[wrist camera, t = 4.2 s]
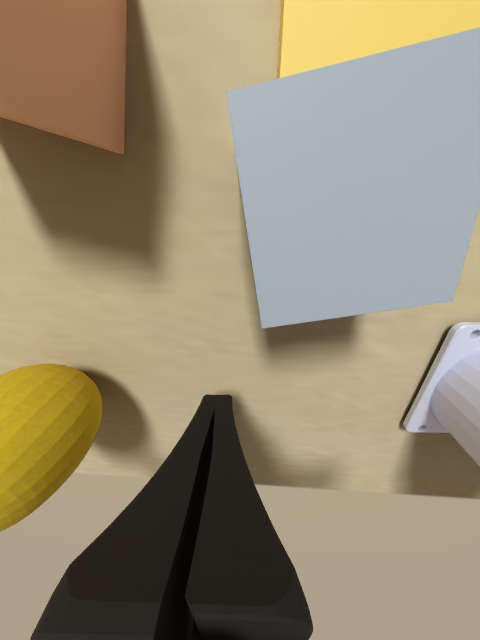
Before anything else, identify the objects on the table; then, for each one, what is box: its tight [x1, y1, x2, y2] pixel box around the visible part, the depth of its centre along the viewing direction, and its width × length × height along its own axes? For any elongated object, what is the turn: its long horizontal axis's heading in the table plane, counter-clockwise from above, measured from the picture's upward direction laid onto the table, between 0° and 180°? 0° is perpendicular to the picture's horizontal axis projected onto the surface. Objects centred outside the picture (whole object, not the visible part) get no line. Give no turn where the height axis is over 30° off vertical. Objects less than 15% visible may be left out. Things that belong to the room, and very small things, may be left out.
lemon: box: [0, 364, 103, 531], centre depth 10 cm, size 6×6×8 cm
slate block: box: [226, 27, 480, 328], centre depth 7 cm, size 5×5×5 cm
